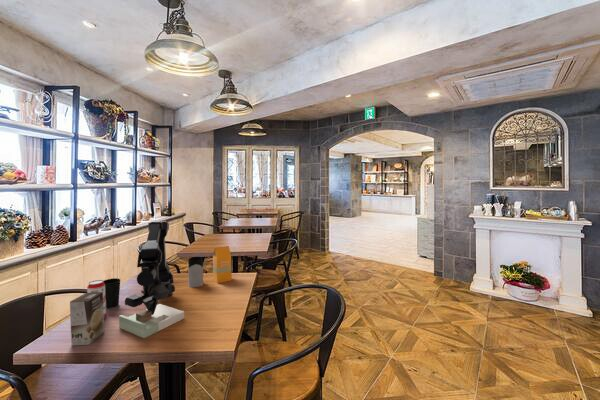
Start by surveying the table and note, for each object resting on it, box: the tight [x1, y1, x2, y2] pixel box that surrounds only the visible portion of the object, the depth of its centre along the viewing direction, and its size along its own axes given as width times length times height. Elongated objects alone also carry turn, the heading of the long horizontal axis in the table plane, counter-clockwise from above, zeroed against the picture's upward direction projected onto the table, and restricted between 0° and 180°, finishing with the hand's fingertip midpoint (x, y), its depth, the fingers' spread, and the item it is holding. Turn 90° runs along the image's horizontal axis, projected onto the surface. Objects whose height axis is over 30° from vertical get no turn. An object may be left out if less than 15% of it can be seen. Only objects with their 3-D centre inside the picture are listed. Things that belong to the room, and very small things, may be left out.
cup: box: [103, 277, 121, 310], centre depth 135 cm, size 8×8×12 cm
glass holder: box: [187, 256, 205, 288], centre depth 166 cm, size 9×14×15 cm, turn 21°
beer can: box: [86, 279, 107, 319], centre depth 122 cm, size 6×6×16 cm
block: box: [135, 309, 152, 323], centre depth 115 cm, size 4×4×3 cm
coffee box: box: [69, 292, 105, 346], centre depth 107 cm, size 9×6×16 cm
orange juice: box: [212, 245, 233, 284], centre depth 171 cm, size 8×9×20 cm
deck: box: [118, 303, 185, 339], centre depth 119 cm, size 16×18×5 cm
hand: (152, 314), depth 119 cm, fingers closed
